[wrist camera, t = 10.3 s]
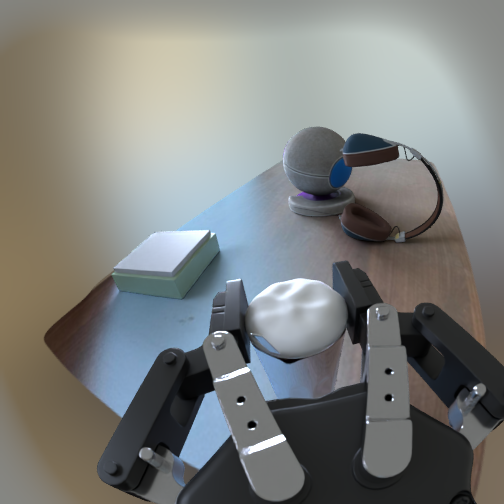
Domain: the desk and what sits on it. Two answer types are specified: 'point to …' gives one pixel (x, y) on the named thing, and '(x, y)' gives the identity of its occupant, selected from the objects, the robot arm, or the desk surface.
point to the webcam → (317, 172)
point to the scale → (166, 263)
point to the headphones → (363, 219)
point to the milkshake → (298, 336)
